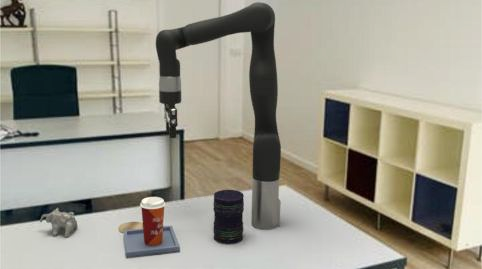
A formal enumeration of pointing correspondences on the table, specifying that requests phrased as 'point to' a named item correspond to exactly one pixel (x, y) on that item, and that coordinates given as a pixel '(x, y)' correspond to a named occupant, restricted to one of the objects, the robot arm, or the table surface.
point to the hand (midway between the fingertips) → (171, 135)
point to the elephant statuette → (61, 221)
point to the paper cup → (152, 220)
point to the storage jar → (228, 216)
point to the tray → (139, 248)
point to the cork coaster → (130, 226)
